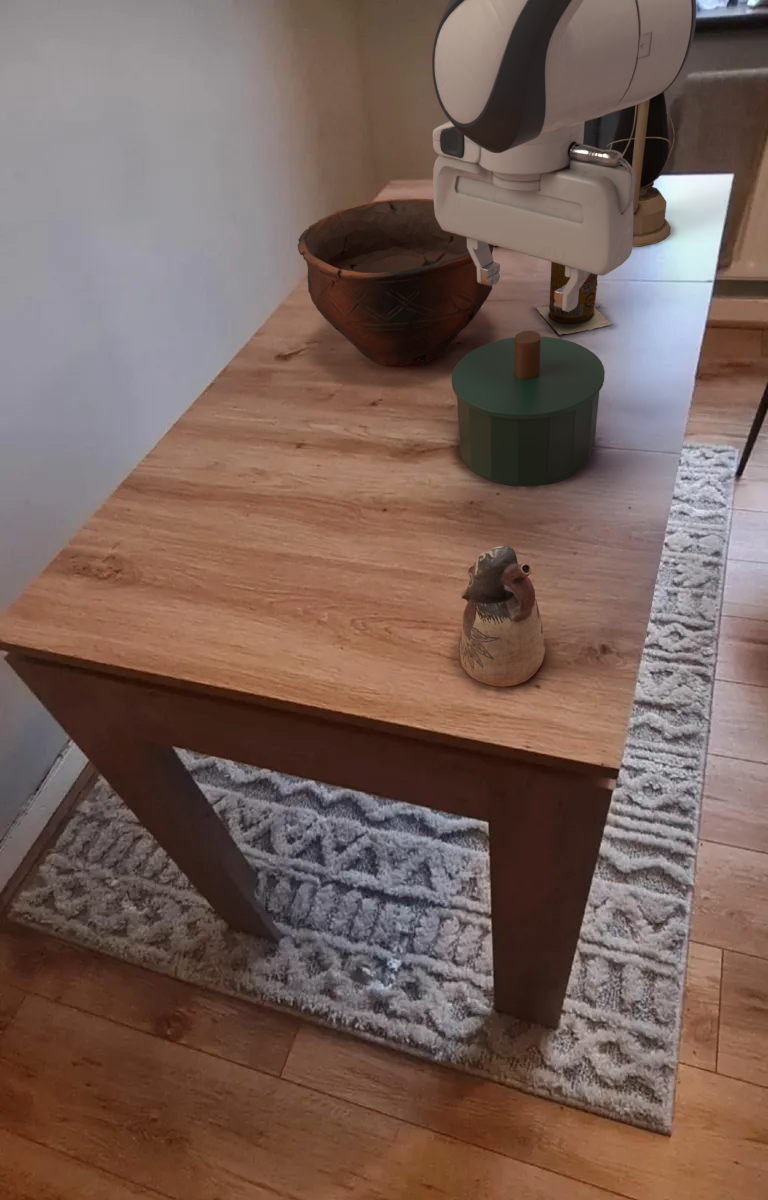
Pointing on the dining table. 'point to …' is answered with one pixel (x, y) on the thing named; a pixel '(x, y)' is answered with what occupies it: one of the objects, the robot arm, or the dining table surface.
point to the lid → (528, 377)
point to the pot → (527, 445)
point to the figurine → (501, 621)
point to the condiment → (579, 316)
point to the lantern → (646, 165)
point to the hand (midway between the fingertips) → (525, 295)
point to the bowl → (392, 279)
